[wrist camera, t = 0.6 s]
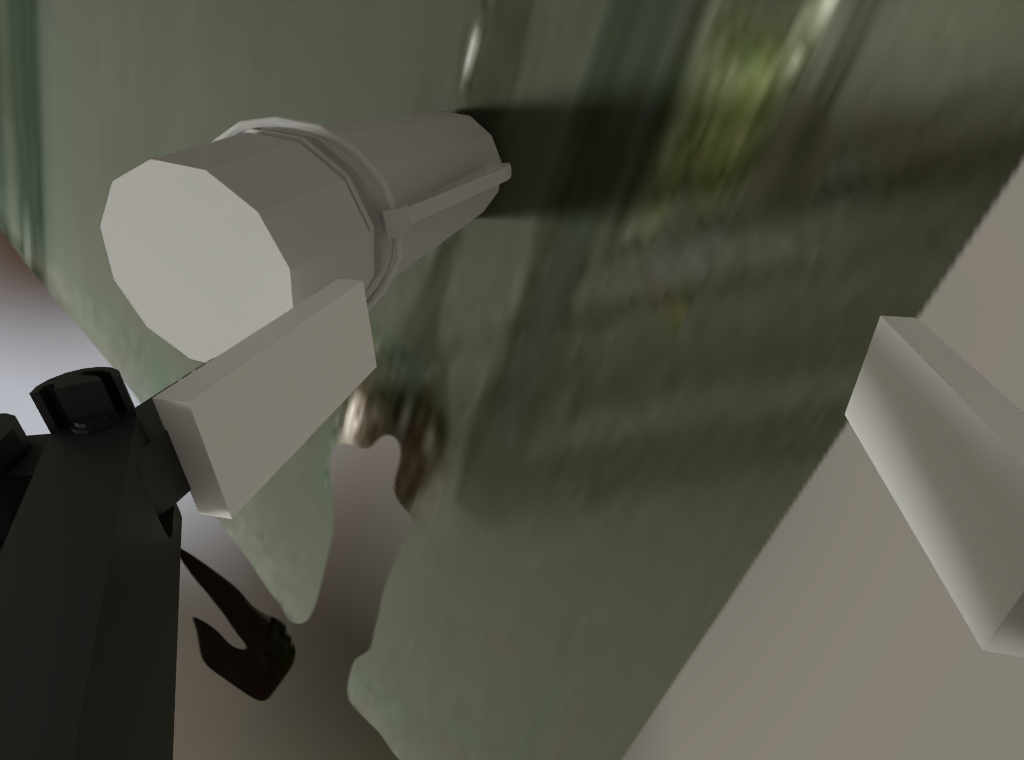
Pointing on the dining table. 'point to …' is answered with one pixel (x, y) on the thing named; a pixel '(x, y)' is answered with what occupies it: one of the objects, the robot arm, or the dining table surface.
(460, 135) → the water bottle
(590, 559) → the dining table surface
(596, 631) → the dining table surface
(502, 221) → the dining table surface
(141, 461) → the robot arm
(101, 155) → the dining table surface
